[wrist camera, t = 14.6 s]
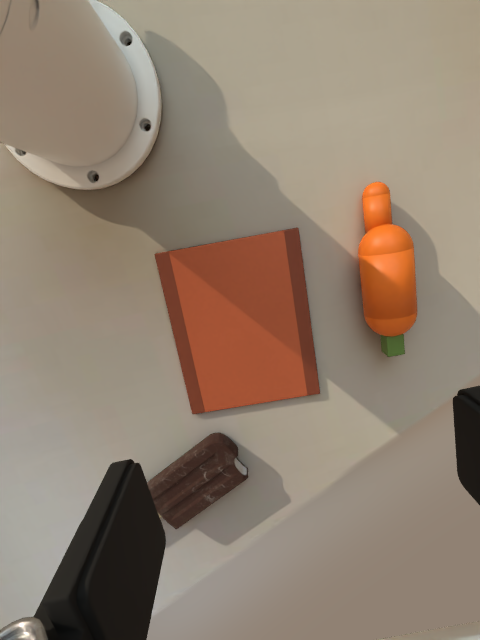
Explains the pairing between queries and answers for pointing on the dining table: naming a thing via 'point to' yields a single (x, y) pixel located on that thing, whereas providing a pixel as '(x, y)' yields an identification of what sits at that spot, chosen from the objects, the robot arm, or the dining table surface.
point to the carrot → (386, 272)
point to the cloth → (241, 320)
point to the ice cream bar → (197, 479)
